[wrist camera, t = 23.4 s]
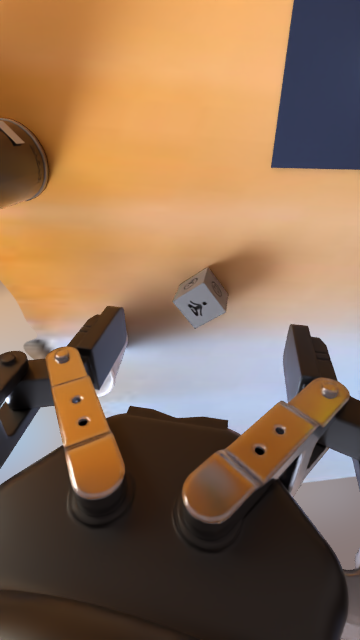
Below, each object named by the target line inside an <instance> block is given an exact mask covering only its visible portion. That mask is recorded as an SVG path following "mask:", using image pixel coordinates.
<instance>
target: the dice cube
mask: <svg viewBox="0 0 360 640" xmlns="http://www.w3.org/2000/svg"><path fill="white" fill-rule="evenodd" d="M227 300H228V293H227V292H226V291H225V289H224V288H223V287H222V285H221V284H220V282H219V281H218V280H217V278H216V277H215V276H214V274H213V273H212V272H211V270H210V269H209V268H208V267H207V268H205V269H204V270H202V271H201V272H199V273H197V274H196V275H194V276H193V277H191V278H190V279H188V280H186V281H185V282H183V283H182V284H180V285H179V287H178V290H177V292H176V294H175V297H174V299H173V303H174V304H175V305H176V306H177V308H178V309H179V310H180V311H181V312H182V314H183V315H184V316H185V317H186V319H187V320H188V321H189V322H190V323H191V325H192V326H193V327H194V328H195V329H196V328H198V327H199V326H201V325H203V324H205V323H207V322H209V321H211V320H212V319H214V318H216V317H218V316H220V315H222V314H224V313H225V312H226V308H227Z"/></svg>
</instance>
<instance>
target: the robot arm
mask: <svg viewBox="0 0 360 640" xmlns="http://www.w3.org/2000/svg"><path fill="white" fill-rule="evenodd" d="M48 175H49V169H48V162H47V158H46V155H45V152H44V150H43V148H42V146H41V144H40V142H39V141H38V139H37V138H36V137H35V135H34V134H33V133H32V132H31V131H30V130H29V129H28V128H26V127H25V126H24V125H22V124H21V123H19V122H17V121H14V120H11V119H6V118H0V210H1V209H3V208H6V207H9V206H12V205H15V204H18V203H20V202H23V201H28V200H31V199H34V198H36V197H37V196H39V195H40V194H41V193H42V192H43V190H44V189H45V187H46V185H47V181H48ZM126 337H127V333H126V323H125V314H124V309H123V308H122V307H114V306H107V307H106V308H105V310H104V311H103V312H102V313H101V315H95V316H93V317H92V318H90V319H88V321H87V322H86V323H85V324H84V326H83V327H82V328H81V329H80V331H79V332H78V333H77V334H76V335H75V337H74V338H73V339H72V340H71V342H70V343H69V344H68V345H67V347H60V348H57V349H55V350H53V351H51V352H50V353H49V354H48V355H47V356H46V359H37V360H28V359H27V356H26V354H25V353H23V352H21V351H11V352H6V353H4V354H1V355H0V406H1V405H2V403H3V402H4V401H5V400H6V402H5V403H4V404H3V406H2V407H1V408H0V468H1V467H2V465H3V464H4V462H5V461H6V459H7V458H8V456H9V455H10V453H11V452H12V450H13V448H14V447H15V446H16V444H17V442H18V441H19V439H20V438H21V436H22V435H23V433H24V432H25V430H26V429H27V427H28V425H29V424H30V422H31V421H32V419H33V418H34V416H35V415H36V413H37V412H38V410H39V409H40V407H47V406H55V409H56V415H57V419H58V424H59V428H60V433H61V437H62V442H63V445H62V446H60V447H59V448H57V449H56V450H54V451H53V452H51V453H49V454H48V455H46V456H45V457H43V458H42V459H40V460H38V461H37V462H35V463H34V464H32V465H30V466H29V467H27V468H25V469H24V470H22V471H21V472H19V473H18V474H16V475H14V476H13V477H11V478H10V479H8V480H7V481H5V482H4V483H2V484H1V485H0V640H340V639H344V640H360V549H359V550H358V552H357V554H356V557H355V569H353V570H344V569H342V567H341V564H340V562H339V560H338V558H337V556H336V554H335V553H334V551H333V550H332V548H331V547H330V545H329V544H328V543H327V541H326V540H325V539H324V537H323V536H322V535H321V534H320V532H319V531H318V530H317V528H316V527H315V526H314V525H313V523H312V522H311V520H310V519H309V518H308V517H307V515H306V514H305V513H304V512H303V510H302V509H301V507H300V506H299V505H298V503H297V502H296V501H295V500H294V499H293V497H294V495H295V494H296V492H297V491H298V489H299V488H300V486H301V484H302V482H303V480H304V479H305V477H306V476H307V475H308V473H309V472H310V471H311V470H312V469H313V467H314V466H315V465H316V464H317V462H318V461H319V460H320V459H321V458H322V456H323V455H324V454H325V453H326V452H327V450H328V449H329V448H331V449H333V450H335V451H338V452H340V453H343V454H345V455H347V456H350V457H352V459H353V463H354V468H355V472H356V477H357V481H358V486H359V490H360V401H359V400H357V399H355V398H353V397H351V396H350V394H349V391H348V390H347V388H346V387H345V386H344V385H342V384H341V383H340V382H338V381H337V378H336V375H335V372H334V368H333V365H332V362H331V361H330V356H329V354H328V350H327V347H326V345H325V344H324V343H323V342H322V341H321V339H320V338H316V337H311V336H310V332H309V328H308V326H304V325H294V324H291V325H290V327H289V331H288V335H287V340H286V344H285V349H284V355H283V367H284V375H285V383H286V391H287V399H288V403H285V402H284V401H280V402H278V403H277V404H276V405H275V406H274V407H273V408H272V409H270V410H269V411H268V412H267V413H266V414H265V415H264V416H262V417H261V418H260V419H259V420H258V421H257V422H256V423H255V424H253V425H252V426H251V427H250V428H249V429H248V430H247V431H245V432H244V433H243V434H242V435H240V434H239V433H237V432H235V431H233V430H231V429H228V428H227V427H228V420H222V419H215V418H208V417H190V418H174V417H172V416H169V415H167V414H164V413H161V412H159V411H156V410H154V409H147V408H141V407H134V406H130V407H129V409H128V411H127V413H124V414H118V415H114V416H111V417H108V418H105V415H104V413H103V410H102V407H101V405H100V402H99V399H98V397H97V394H96V392H95V390H100V388H101V386H102V385H103V383H104V381H105V379H106V377H107V376H108V374H109V372H110V370H111V369H112V367H113V365H114V363H115V361H116V360H117V358H118V356H119V354H120V352H121V351H122V349H123V347H124V345H125V343H126Z"/></svg>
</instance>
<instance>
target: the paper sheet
mask: <svg viewBox="0 0 360 640" xmlns="http://www.w3.org/2000/svg"><path fill="white" fill-rule="evenodd" d="M271 168H312V169H355V170H360V0H294V4H293V11H292V18H291V26H290V33H289V40H288V48H287V55H286V62H285V70H284V77H283V84H282V91H281V99H280V106H279V113H278V121H277V128H276V135H275V143H274V150H273V157H272V165H271Z"/></svg>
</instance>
